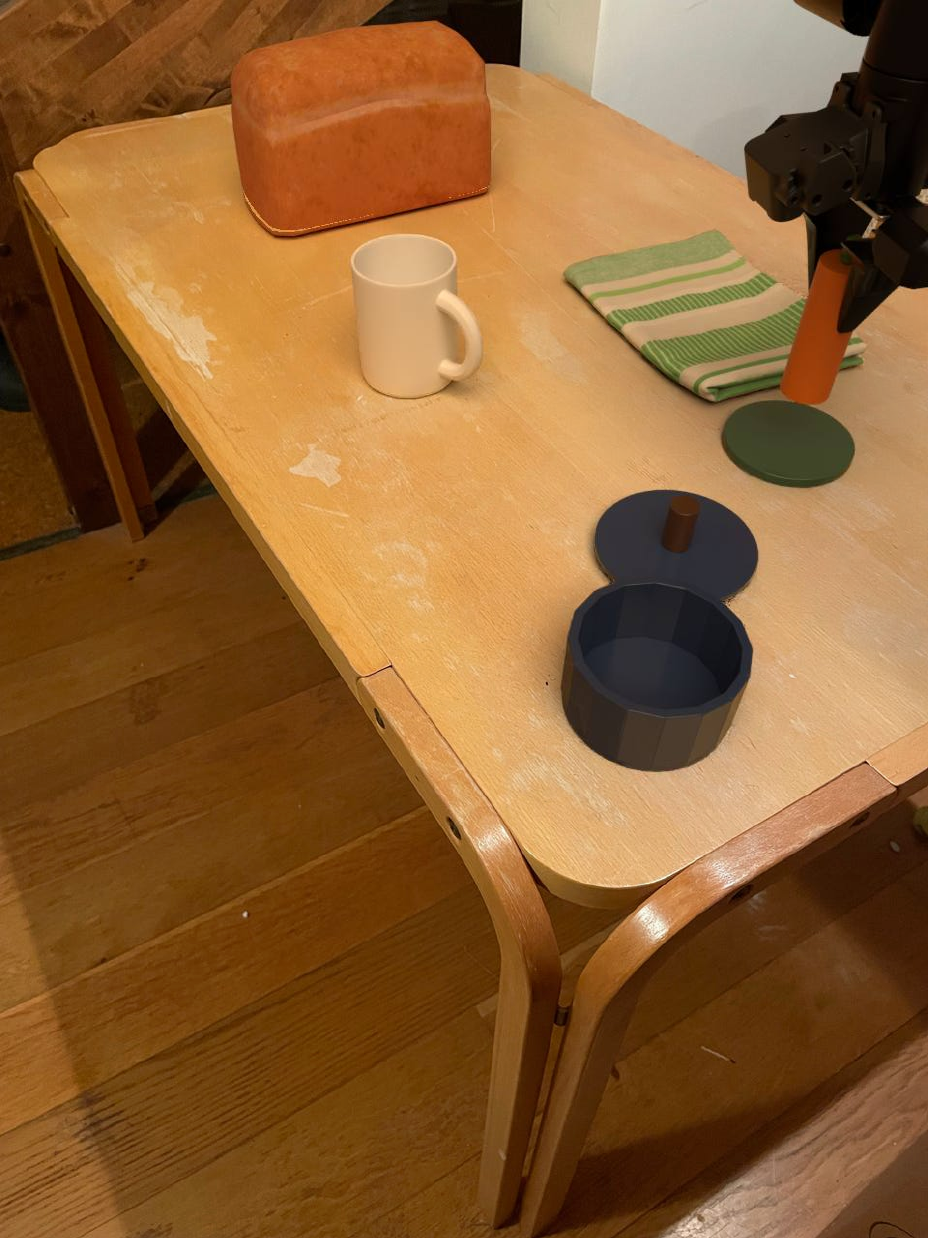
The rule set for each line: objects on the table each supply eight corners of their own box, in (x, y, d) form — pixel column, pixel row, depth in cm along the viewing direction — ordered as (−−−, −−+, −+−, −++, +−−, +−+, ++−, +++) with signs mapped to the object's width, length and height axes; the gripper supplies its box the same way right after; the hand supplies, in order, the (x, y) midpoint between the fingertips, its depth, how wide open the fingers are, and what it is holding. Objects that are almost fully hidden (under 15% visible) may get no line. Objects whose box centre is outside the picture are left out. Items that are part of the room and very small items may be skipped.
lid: (760, 516, 65) (776, 467, 62) (748, 629, 58) (766, 581, 55) (608, 488, 67) (615, 439, 64) (578, 594, 60) (585, 545, 57)
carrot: (829, 380, 67) (885, 225, 58) (828, 408, 65) (886, 251, 56) (780, 373, 68) (828, 218, 59) (778, 400, 65) (827, 244, 57)
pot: (737, 654, 57) (758, 596, 53) (721, 790, 50) (744, 736, 46) (579, 620, 59) (587, 562, 54) (545, 748, 52) (551, 692, 48)
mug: (510, 386, 76) (516, 271, 68) (445, 432, 72) (443, 315, 64) (408, 335, 81) (402, 223, 73) (341, 375, 77) (327, 260, 69)
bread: (235, 194, 100) (203, 31, 88) (447, 150, 107) (444, -5, 95) (274, 247, 92) (245, 76, 80) (500, 196, 99) (505, 32, 87)
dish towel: (717, 246, 91) (722, 220, 89) (868, 367, 77) (879, 338, 75) (561, 282, 87) (564, 255, 85) (692, 416, 73) (699, 388, 71)
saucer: (852, 419, 73) (855, 411, 72) (851, 498, 66) (855, 490, 66) (727, 399, 74) (729, 390, 74) (715, 474, 68) (717, 466, 68)
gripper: (712, 22, 55) (669, 266, 66) (875, 143, 43) (786, 413, 55) (876, 8, 56) (805, 248, 68) (1075, 120, 45) (948, 387, 56)
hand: (829, 316), depth 62 cm, fingers closed on carrot, 3 cm apart
